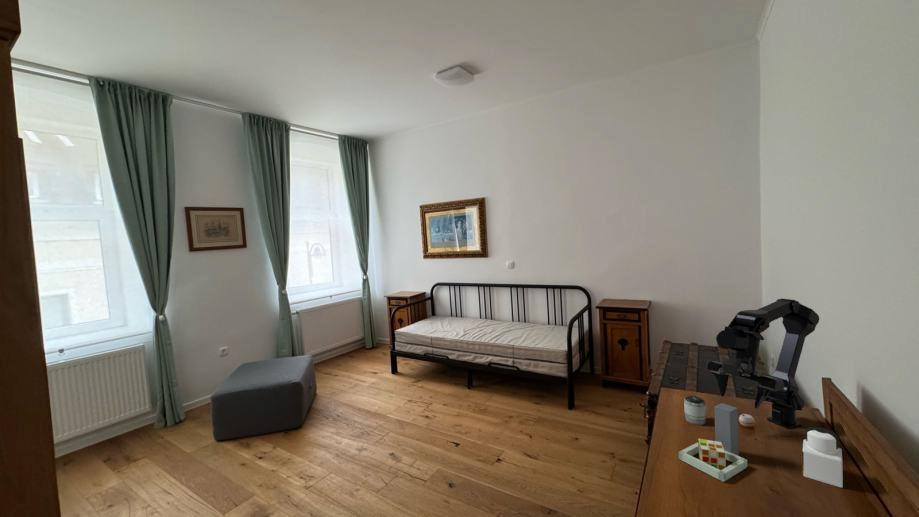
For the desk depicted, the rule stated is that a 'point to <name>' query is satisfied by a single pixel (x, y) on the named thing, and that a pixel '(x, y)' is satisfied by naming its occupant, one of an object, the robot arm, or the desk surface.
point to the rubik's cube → (712, 453)
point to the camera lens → (695, 410)
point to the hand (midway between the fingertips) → (738, 402)
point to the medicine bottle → (822, 456)
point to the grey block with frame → (728, 437)
